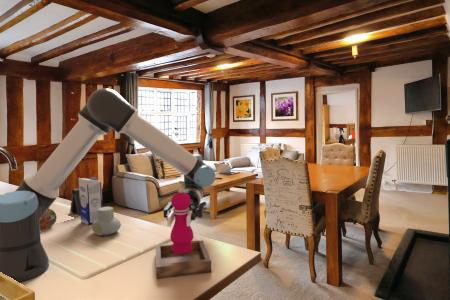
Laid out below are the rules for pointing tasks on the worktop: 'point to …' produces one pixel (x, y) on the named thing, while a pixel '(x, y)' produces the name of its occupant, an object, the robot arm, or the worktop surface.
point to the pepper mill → (181, 223)
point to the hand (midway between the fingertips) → (178, 221)
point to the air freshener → (106, 222)
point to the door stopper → (75, 202)
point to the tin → (47, 219)
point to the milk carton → (90, 199)
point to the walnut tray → (182, 261)
